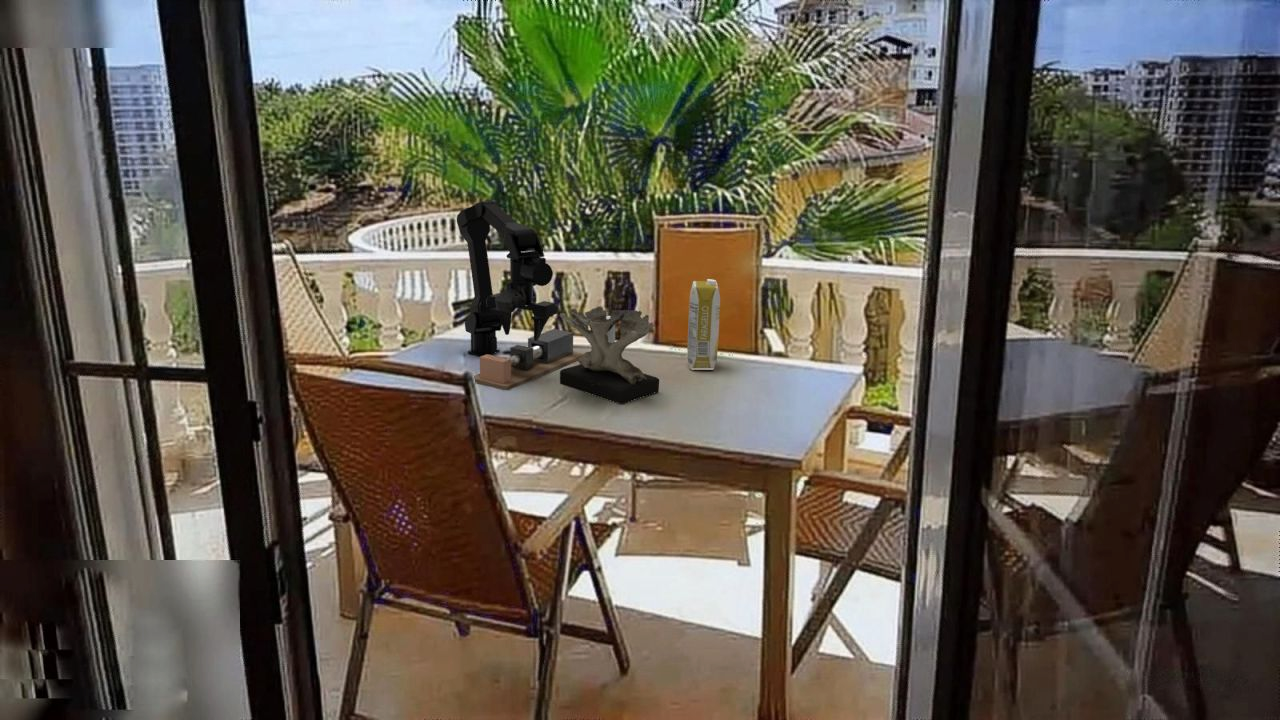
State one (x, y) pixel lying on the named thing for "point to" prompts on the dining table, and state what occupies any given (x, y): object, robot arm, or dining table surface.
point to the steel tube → (525, 356)
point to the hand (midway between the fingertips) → (521, 337)
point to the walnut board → (529, 372)
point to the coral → (609, 356)
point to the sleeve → (553, 345)
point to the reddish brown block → (495, 368)
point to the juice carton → (703, 324)
